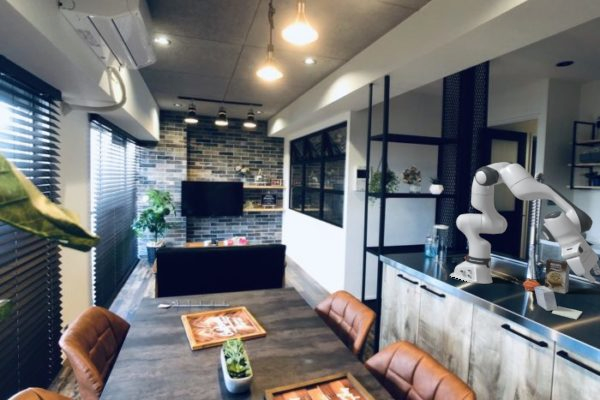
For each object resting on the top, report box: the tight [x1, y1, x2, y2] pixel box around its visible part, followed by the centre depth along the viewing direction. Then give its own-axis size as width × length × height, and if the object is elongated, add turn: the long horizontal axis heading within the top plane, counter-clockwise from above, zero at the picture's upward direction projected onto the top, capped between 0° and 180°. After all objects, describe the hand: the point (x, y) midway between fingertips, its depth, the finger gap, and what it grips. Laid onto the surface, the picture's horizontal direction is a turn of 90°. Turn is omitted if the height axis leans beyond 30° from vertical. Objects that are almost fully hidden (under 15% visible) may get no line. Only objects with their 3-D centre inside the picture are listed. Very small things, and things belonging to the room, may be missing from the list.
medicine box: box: [534, 285, 558, 312], centre depth 152 cm, size 8×4×9 cm, turn 170°
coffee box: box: [544, 258, 571, 294], centre depth 177 cm, size 9×6×16 cm
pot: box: [522, 278, 542, 292], centre depth 176 cm, size 8×8×7 cm
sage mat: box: [551, 305, 583, 320], centre depth 146 cm, size 8×11×1 cm
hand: (596, 277), depth 136 cm, fingers open, 8 cm apart
